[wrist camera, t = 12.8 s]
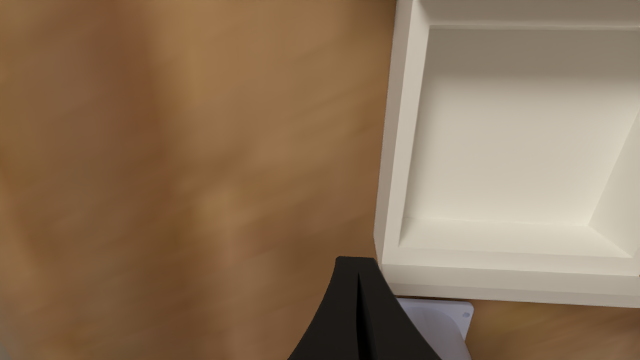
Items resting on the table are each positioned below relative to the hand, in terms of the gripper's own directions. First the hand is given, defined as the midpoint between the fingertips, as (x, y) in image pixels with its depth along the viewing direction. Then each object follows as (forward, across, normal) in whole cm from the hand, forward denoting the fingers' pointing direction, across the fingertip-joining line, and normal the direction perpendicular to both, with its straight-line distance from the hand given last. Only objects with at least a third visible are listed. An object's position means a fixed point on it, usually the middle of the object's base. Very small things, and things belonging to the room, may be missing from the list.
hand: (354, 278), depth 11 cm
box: (+9, -9, -3) cm, 13 cm away
